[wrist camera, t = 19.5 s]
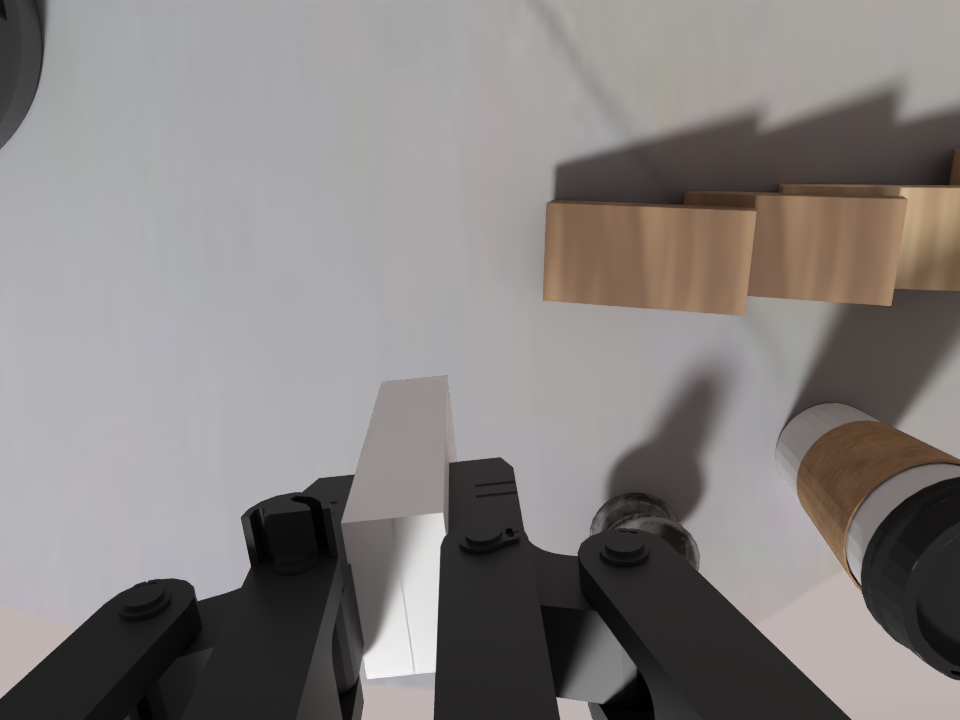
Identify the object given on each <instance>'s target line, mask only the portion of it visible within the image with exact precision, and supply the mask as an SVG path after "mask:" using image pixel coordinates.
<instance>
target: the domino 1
mask: <svg viewBox="0 0 960 720" xmlns="http://www.w3.org/2000/svg"><path fill="white" fill-rule="evenodd" d="M756 214H757V211H756V208H754V207H729V206H703V205H677V204H651V203H625V202H599V201H574V200H553V201H550V202H548V203H547V206H546V232H545V259H544V285H543V301H556V302H570V303H583V304H596V305H609V306H623V307H636V308H649V309H662V310H676V311H689V312H702V313H715V314H729V315H742V316H745V309H746V301H747V292H748V283H749V275H750V266H751V257H752V249H753V240H754V232H755V223H756Z"/></svg>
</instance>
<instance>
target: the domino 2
mask: <svg viewBox="0 0 960 720" xmlns="http://www.w3.org/2000/svg"><path fill="white" fill-rule="evenodd" d="M907 202H908V199H907V198H905V197H903V196H883V195H845V194H806V193H767V192H729V191H690V190H689V191H688V192H686V193H684V205H703V206H729V207H754V208H756V211H757V214H756V223H755V232H754V240H753V249H752V257H751V266H750V275H749V283H748V292H747V296H757V297H771V298H785V299H799V300H813V301H827V302H841V303H855V304H869V305H883V306H891V304H892V298H893V292H894V285H895V279H896V273H897V266H898V260H899V253H900V247H901V241H902V234H903V228H904V222H905V215H906V209H907Z"/></svg>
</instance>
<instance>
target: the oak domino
mask: <svg viewBox="0 0 960 720" xmlns="http://www.w3.org/2000/svg"><path fill="white" fill-rule="evenodd" d="M778 193H806V194H845V195H883V196H903V197H905V198H907V199H908V202H907V209H906V215H905V222H904V228H903V234H902V241H901V247H900V253H899V260H898V266H897V273H896V279H895V285H894V289H913V290H940V291H960V185H844V184H779V192H778Z"/></svg>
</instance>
